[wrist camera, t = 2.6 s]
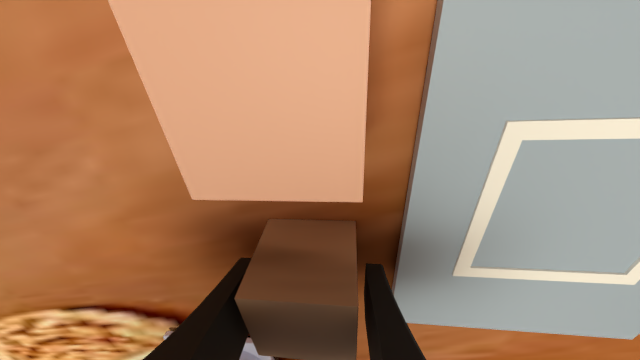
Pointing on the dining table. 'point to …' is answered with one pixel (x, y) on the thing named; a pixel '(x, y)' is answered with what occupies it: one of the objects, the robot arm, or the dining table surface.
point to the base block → (303, 290)
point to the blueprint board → (527, 171)
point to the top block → (257, 93)
